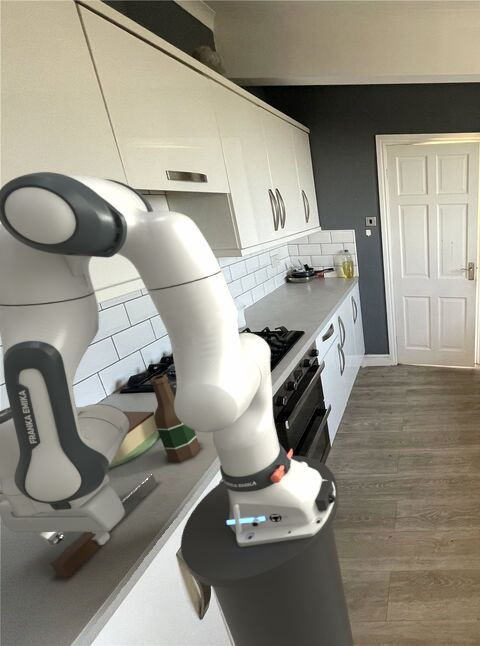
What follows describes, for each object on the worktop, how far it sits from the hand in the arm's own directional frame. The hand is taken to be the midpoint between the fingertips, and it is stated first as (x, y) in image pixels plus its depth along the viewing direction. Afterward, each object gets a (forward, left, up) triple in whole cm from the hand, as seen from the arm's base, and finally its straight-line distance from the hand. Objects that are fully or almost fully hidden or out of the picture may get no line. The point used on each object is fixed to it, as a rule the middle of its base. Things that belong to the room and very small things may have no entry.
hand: (80, 541), depth 67 cm
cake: (+24, -31, -5) cm, 40 cm away
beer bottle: (+2, -29, -5) cm, 30 cm away
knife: (+1, -7, -4) cm, 9 cm away
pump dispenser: (+10, -41, -5) cm, 43 cm away
